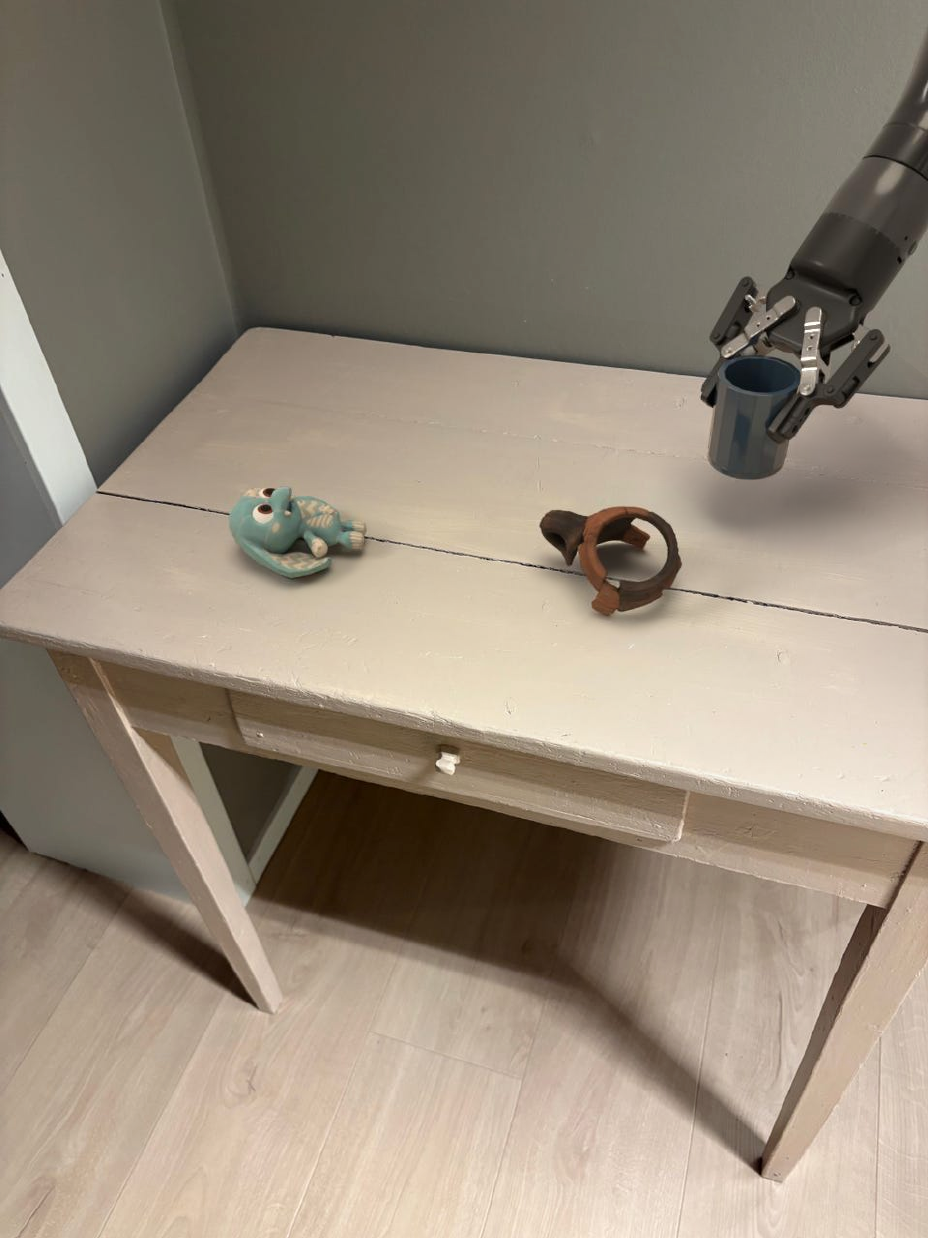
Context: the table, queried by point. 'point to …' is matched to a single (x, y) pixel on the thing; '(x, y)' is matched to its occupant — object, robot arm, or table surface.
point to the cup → (750, 416)
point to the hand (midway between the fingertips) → (739, 420)
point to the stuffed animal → (290, 530)
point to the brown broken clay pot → (602, 527)
